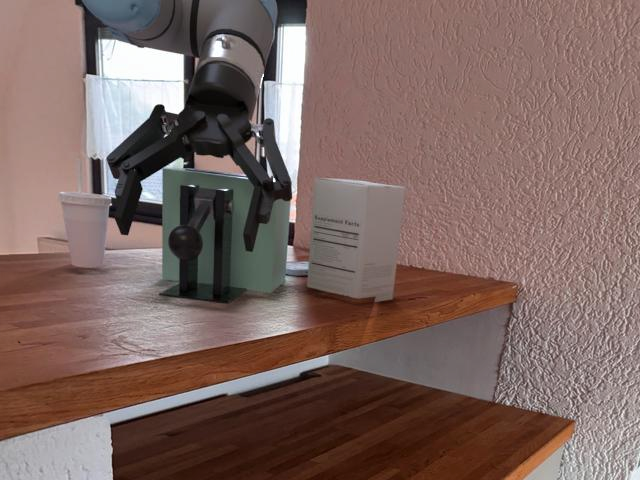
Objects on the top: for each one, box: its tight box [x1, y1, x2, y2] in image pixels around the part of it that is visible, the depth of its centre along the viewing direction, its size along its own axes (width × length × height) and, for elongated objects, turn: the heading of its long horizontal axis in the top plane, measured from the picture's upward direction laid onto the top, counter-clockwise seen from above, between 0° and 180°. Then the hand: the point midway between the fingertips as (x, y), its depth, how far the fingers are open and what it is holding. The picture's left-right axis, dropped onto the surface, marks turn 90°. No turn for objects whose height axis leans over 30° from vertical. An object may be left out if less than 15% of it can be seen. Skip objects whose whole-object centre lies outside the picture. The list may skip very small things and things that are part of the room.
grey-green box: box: [161, 167, 293, 294], centre depth 95 cm, size 11×14×14 cm
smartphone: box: [286, 260, 309, 276], centre depth 118 cm, size 7×1×15 cm
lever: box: [168, 188, 216, 261], centre depth 80 cm, size 12×4×4 cm, turn 175°
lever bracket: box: [158, 184, 248, 305], centre depth 85 cm, size 10×8×13 cm
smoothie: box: [57, 156, 113, 269], centre depth 93 cm, size 6×6×14 cm
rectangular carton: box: [306, 177, 406, 303], centre depth 98 cm, size 9×9×15 cm
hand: (184, 235), depth 77 cm, fingers open, 13 cm apart
